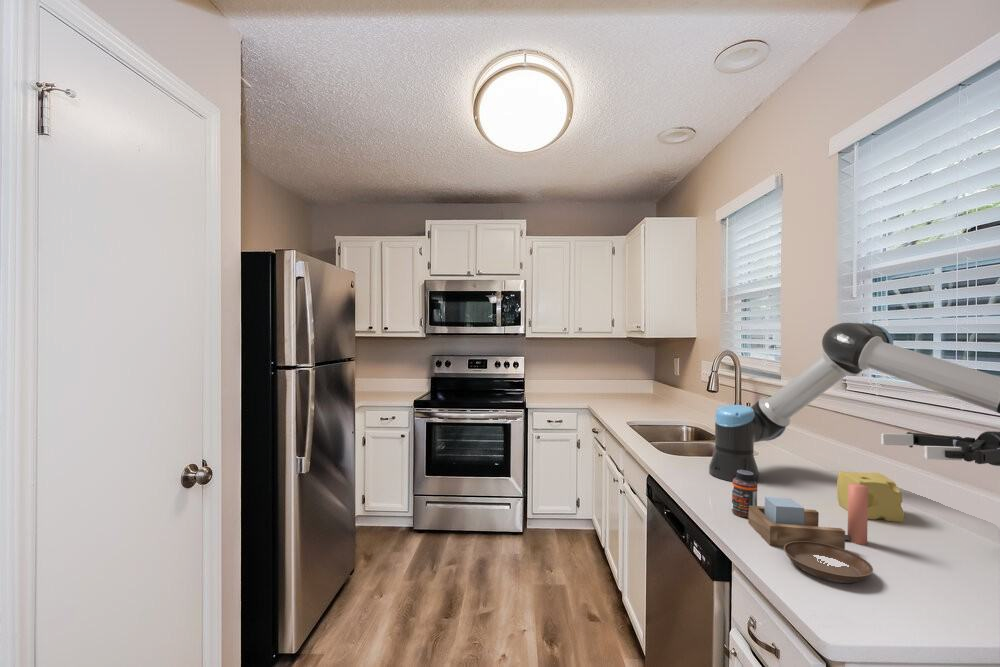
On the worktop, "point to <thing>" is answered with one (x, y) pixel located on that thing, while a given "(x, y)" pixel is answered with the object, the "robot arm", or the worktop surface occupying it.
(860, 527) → the block
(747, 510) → the supplement bottle
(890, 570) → the worktop surface
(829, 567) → the saucer
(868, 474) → the cheese
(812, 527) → the wooden u-shaped frame
